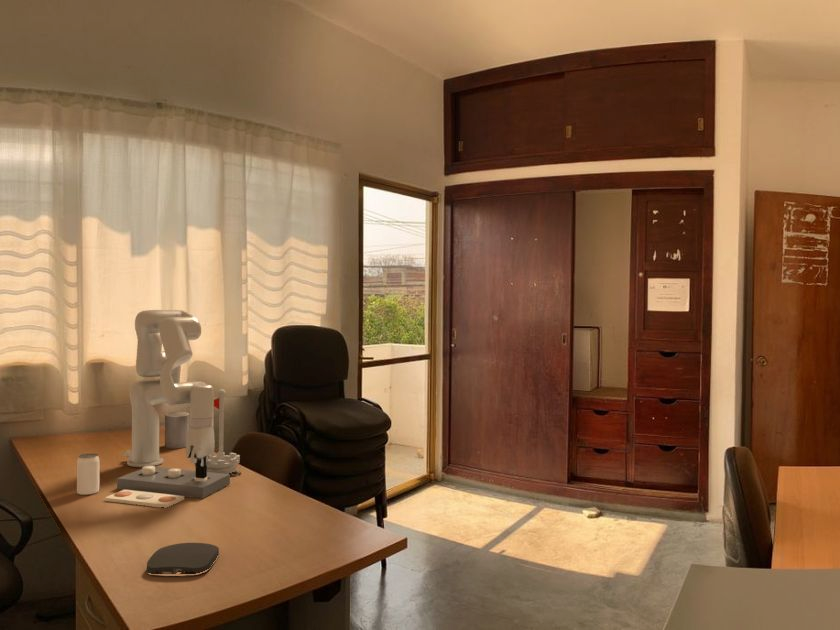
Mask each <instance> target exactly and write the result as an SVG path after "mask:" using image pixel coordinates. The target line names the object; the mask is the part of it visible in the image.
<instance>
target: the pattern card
mask: <svg viewBox="0 0 840 630" xmlns="http://www.w3.org/2000/svg"><path fill="white" fill-rule="evenodd" d="M184 500H185V496H179V495H170V494H161V493H152V492H143V491H134V490H123V489H121V490H120V491H118V492H114V493H113V494H110V495H107V496H105V497H104V501H105V502H109V503H110V502H113V503H121V504H127V505H136V504H137V505H138V506H144V505H145V506H146V507H153V508H161V507H164V508H163V509H168V508H170V507H171V505H172V506H174V505H175V504H177V503H180V502H182V501H184ZM173 504H174V505H173ZM145 506H144V507H145ZM169 506H170V507H169ZM167 507H168V508H167Z"/></svg>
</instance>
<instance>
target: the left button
mask: <svg viewBox="0 0 840 630" xmlns="http://www.w3.org/2000/svg"><path fill="white" fill-rule="evenodd" d="M155 467H156V466H145V467H141V469H142V475H143V476H152V475H155Z"/></svg>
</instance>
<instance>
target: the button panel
mask: <svg viewBox="0 0 840 630" xmlns="http://www.w3.org/2000/svg"><path fill="white" fill-rule="evenodd" d="M169 469H173V468H169V467H158V466H155V475H152V476H143V475H142V468H140V469H139V470H136V471H133V472H130V473H127V474H125V475H122V476H120V477H117V479H116V489H117V490H134V491H143V492H152V493H161V494H170V495H179V496H184V497H188V498H194V497H195V498H196V499H205V498H207V497H209V496H210V494H211V495H212V494H214V493H216V492H218V491H220V490H222V489H224V488H226V487H227V485H228V486H230V485H231V474H222V473H212V472H207V480H206V481H204V482H201V481H194V478H195V477H196V470H191V469H182V468H180V469H181V477H180V478H177V479H172V478H168V470H169ZM229 484H230V485H229ZM225 486H226V487H225ZM223 487H224V488H223ZM221 488H222V489H221ZM219 489H220V490H219ZM217 490H218V491H217ZM215 491H216V492H215ZM208 495H209V496H208ZM206 496H207V497H206ZM204 497H205V498H204Z"/></svg>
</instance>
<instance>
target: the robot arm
mask: <svg viewBox="0 0 840 630" xmlns="http://www.w3.org/2000/svg"><path fill="white" fill-rule="evenodd" d="M134 330H135V332H136V337H137V338H136V339H137V344H136V345H137V346H136V347H137V348H136V357H135V358H136V360H135V361H136V362H135V372H136V374H137V375H138V376H139V377H141V378H152V379H142V380H138V381H134V382H133V383H132V384H131V385H130V387H129V392H128V394H129V399H130V404H131V450H126V451H125V452H124V454H123V457H125V458H129V459H128V460H127V462H126V463H127V464H126V465H127V466H129V467H132V468H143V467H145V466H155V467H157V466H159V465H161V464H163V463H164V458H163V457H161V456H160V415H159V413H158V411H157V410H156V409H155V407H154V406H155V405H163V404H168V406H172V407H177V406H185V405H186V406H187V405H189V430H188V435H187V444H186V447H185V457H186V458H187V459H189V461H190V462H189V463H191V464H193V465H194V466H195V471H196V478H205V477H207V464H208V459H209V458H210V457H211V456H212V454H213V453H214V452H215V445H216V444H215V441H216V440H215V428H214V417H215V416H214V411H215V410H214V409H215V407H214V400H215V399H214V398H215V395H214V393H215V392H214V386H212V384H211V385H210V384H207V383H205V382H204V381H199V380H198V381H186V382H185V381H184V382H180V381H181V368H182V367H181V366H182V365H184V364H186V363H188V361H190V360H191V358H192V357H193V351H192V347H191V345H190V341H196V340H198V339H199V338H200V337H201V335H202V326H201V324H200V321H199V320H198V319H197V317H196V316H194V315H192V314H191V313H188V312H186V311H184V310H180V309H148V310H146V309H145V310H141V311H140V312H138V313H137V315H136V316H135V319H134ZM162 347H163V350H162ZM157 377H159V378H157ZM155 378H157V379H155Z"/></svg>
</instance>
